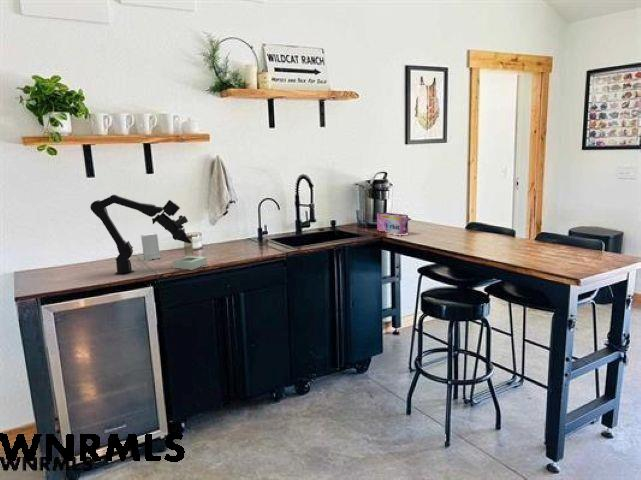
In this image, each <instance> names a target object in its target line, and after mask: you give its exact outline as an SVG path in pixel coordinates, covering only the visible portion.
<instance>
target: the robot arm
mask: <svg viewBox="0 0 641 480" xmlns="http://www.w3.org/2000/svg"><path fill="white" fill-rule="evenodd" d="M114 204H116V205H119V206H123V207H125V208H130V209H133V210H136V211H138V212H140V213H142V214H144V215H145V216H148V217H150V218H151V217H152V218H151V221H152V225H154V224H155V223H157V224H159V225H160V226H161V227H162V228H164V230H165V231H167V232H169V233H170V235H172V239H173V240H175V241H180V242H186V243H190V244H191V241H190V240H189V238H188V237H187V236H186V235H187V233H186V229H185V227H184V225H185V224H187V223H188V222H189V220H188V218H187V216H186V215H184V216H183V215H179V216H178V219H176V220H175V219H171V218H170V217H171V216H172V217H174V216H175V215H176V214H177V212H179V210H180V209H181V207H180V206H179V205H178V204H177V203H175V202H174V201H172V200H171V199H169V200H168V201H167V202H166V203H165V204H164V206H157V205H155V204H152V203H146V202H145V203H144V202H139V201H134V200H132V199H129V198H126V197H122V196H121V195H120V196H119V195H117V194H112V195H110V196H109V197H107V198H104V199H102V200H99V199H97V200H95V201H93V202H91V204H90V205H89V206H90V210H91V212H92V213H93V214H94V215H95V216H96V217H97V218H98V219H100V220H101V222H102V224H103V226H104V227H105V229H106V230H107V231H108V233H109V235H110V237H111V238H112V240H113V242H114V243H115V245H116V248H117V252H118V255H117V257H116V258H115V264H116V272H115V275H127V274H130V273H133V272H135V271H134V270H132V262H131V259H130V258H131V257H132V256H133V254H134V253H133V252H134V249H133V248H134V247H133V246H132V245H131V241H129V240H128V241H126V240H125V239H124V238H123V237H122V235H121V233H120V231H119V230H118V229H117V227H116V225H115V224H114V222H113V220H112V219H111V217H110V215H109V213H108V210H107V207H108V206H111V205H114ZM153 217H154V218H153Z"/></svg>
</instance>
